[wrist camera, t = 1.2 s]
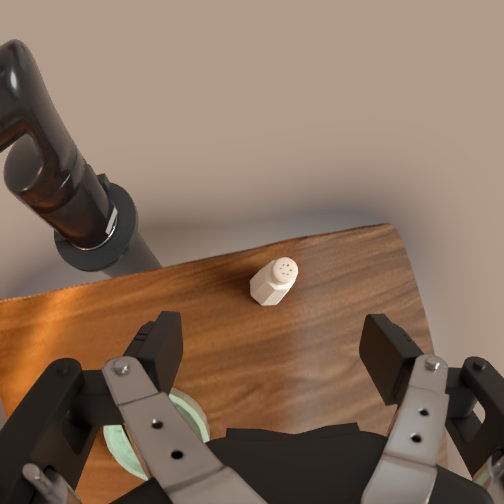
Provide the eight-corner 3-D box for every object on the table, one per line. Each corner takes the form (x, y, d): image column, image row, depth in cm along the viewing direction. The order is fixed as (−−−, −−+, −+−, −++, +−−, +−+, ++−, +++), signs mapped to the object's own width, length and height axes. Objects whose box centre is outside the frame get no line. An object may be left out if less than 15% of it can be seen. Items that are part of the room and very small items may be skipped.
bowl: (105, 387, 34) (91, 393, 29) (196, 376, 37) (193, 381, 32) (130, 470, 31) (121, 484, 26) (219, 462, 33) (220, 477, 28)
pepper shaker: (242, 277, 41) (251, 256, 31) (276, 262, 42) (296, 237, 32) (258, 313, 40) (273, 303, 30) (292, 296, 41) (318, 282, 31)
